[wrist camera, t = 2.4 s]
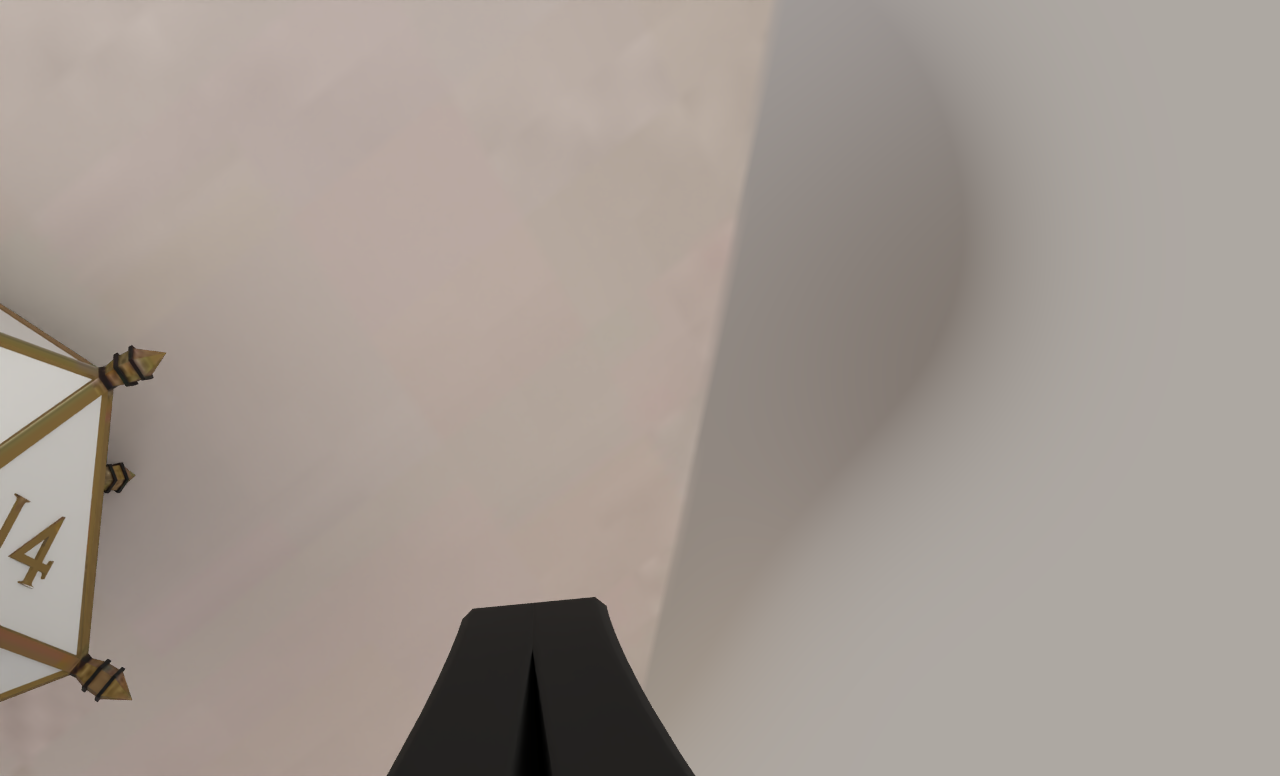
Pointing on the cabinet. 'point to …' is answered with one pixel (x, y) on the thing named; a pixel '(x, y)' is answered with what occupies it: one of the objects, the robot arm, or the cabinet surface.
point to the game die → (55, 504)
